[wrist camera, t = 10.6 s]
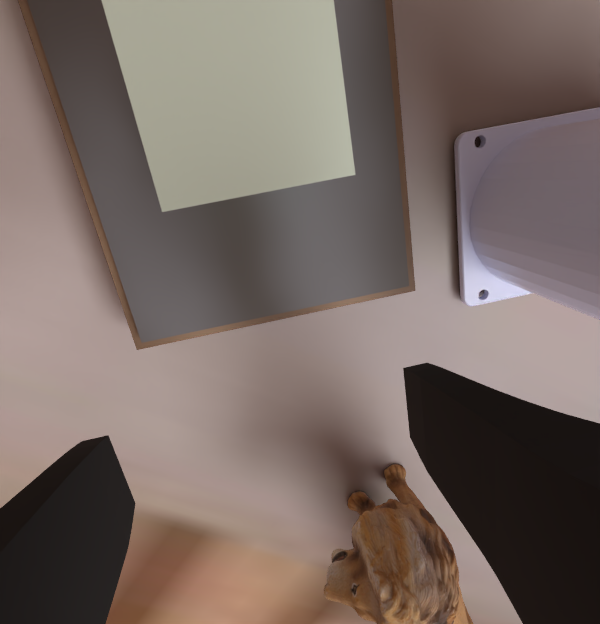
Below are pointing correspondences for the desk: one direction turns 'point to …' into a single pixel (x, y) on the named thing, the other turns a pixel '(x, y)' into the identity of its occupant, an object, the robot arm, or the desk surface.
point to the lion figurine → (397, 562)
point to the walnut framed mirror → (238, 211)
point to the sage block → (233, 94)
